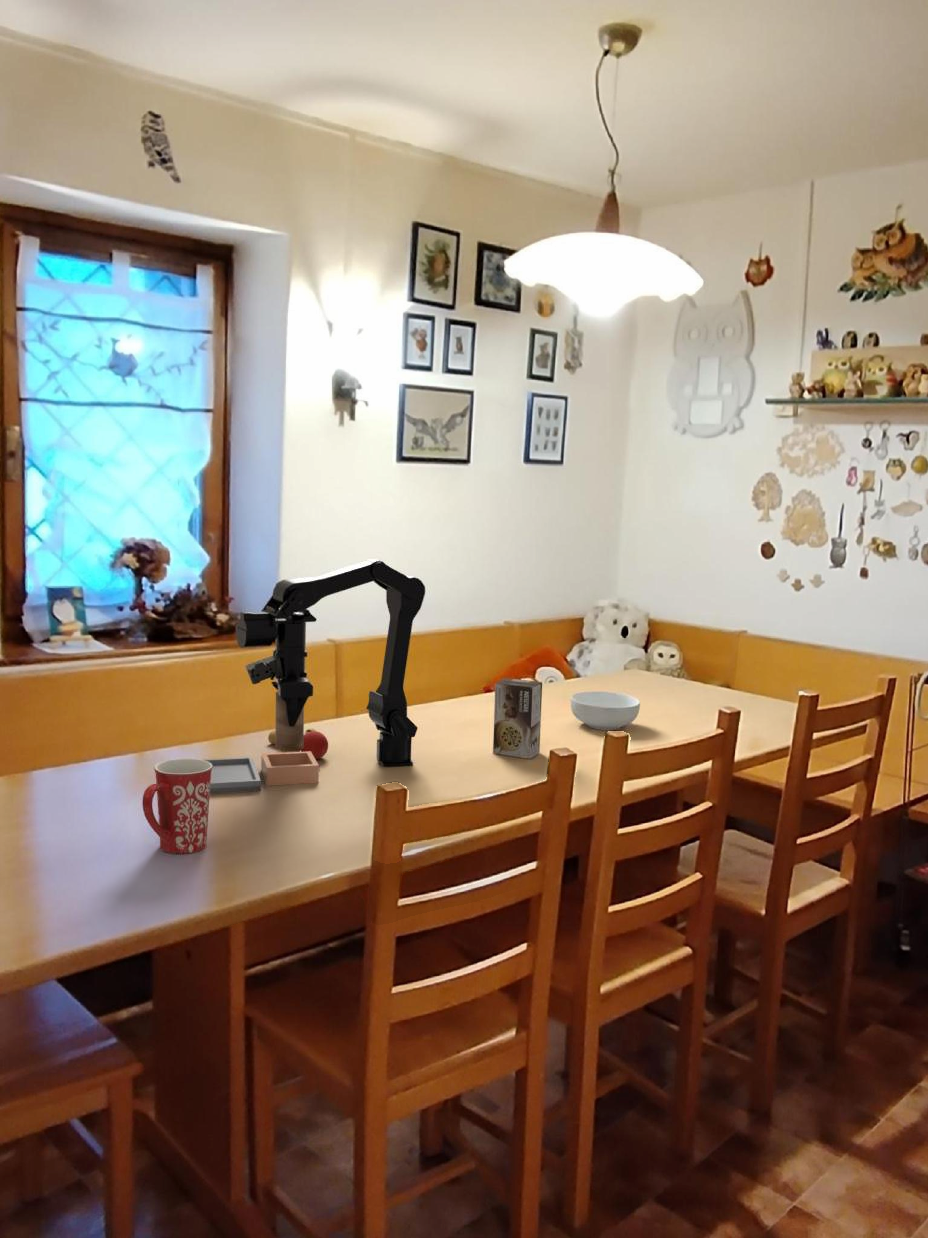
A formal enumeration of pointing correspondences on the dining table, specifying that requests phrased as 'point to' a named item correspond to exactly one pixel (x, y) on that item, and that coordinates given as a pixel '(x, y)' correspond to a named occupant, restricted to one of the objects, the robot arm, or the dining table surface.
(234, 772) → the grey tray
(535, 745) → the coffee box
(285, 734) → the walnut peg
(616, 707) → the cereal bowl
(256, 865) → the dining table surface
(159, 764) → the mug
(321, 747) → the kendama
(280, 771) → the pink rectangular frame
